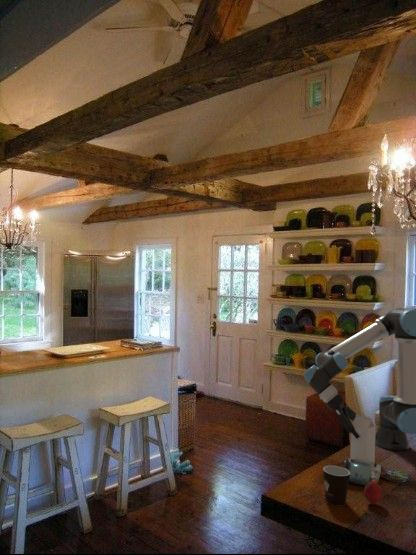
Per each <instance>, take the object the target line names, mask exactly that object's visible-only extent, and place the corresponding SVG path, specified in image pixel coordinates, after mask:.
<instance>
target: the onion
mask: <svg viewBox="0 0 416 555" xmlns="http://www.w3.org/2000/svg"><path fill="white" fill-rule="evenodd" d="M363 495H364V497H365V499H366V500H367V501H368V502H369V503H370V504H371V505H376V504H378V503H380V502H381V501H382V499H383V496H384V492H383V490H382V487H381V485H379V484H378V483H376V480H372V482H370V483H368V484H367V485H366V486H365V487H364V489H363Z"/></svg>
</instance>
